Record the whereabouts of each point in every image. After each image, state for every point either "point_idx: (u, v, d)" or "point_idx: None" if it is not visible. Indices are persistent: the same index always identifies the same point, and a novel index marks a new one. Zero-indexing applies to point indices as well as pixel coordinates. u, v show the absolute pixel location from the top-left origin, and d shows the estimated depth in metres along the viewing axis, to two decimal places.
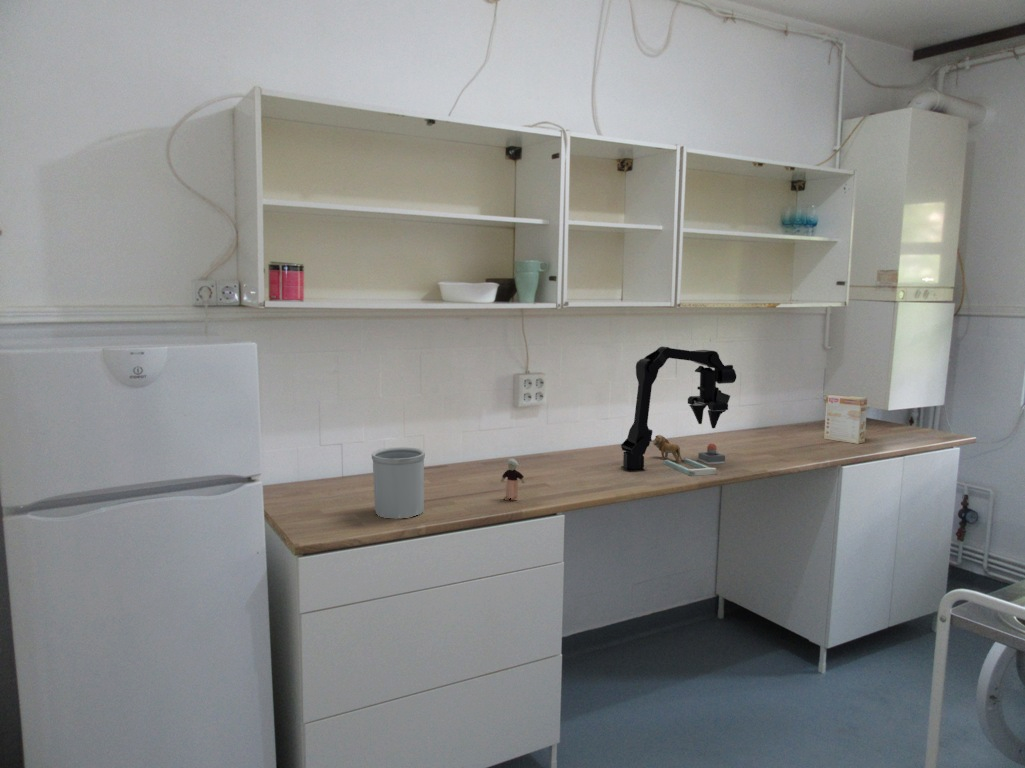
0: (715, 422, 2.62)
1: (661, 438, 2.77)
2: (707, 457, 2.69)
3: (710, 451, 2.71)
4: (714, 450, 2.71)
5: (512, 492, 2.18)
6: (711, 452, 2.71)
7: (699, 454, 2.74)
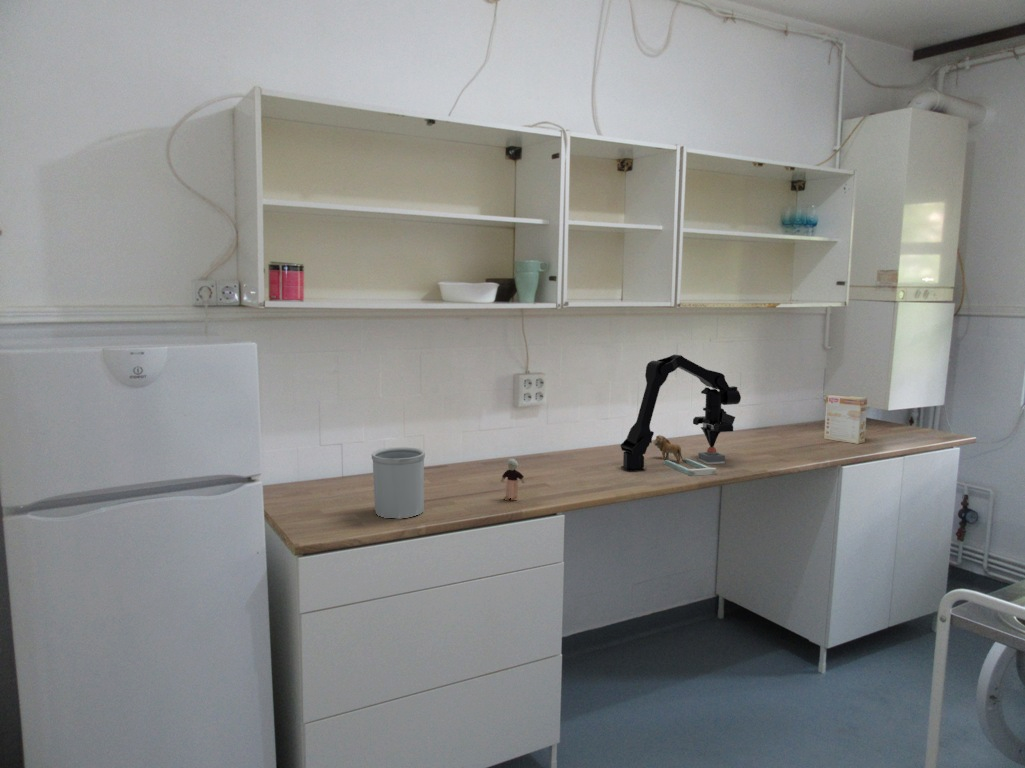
0: (714, 441, 2.71)
1: (662, 438, 2.77)
2: (707, 457, 2.69)
3: (710, 454, 2.71)
4: (714, 453, 2.71)
5: (512, 492, 2.18)
6: None
7: (699, 454, 2.74)
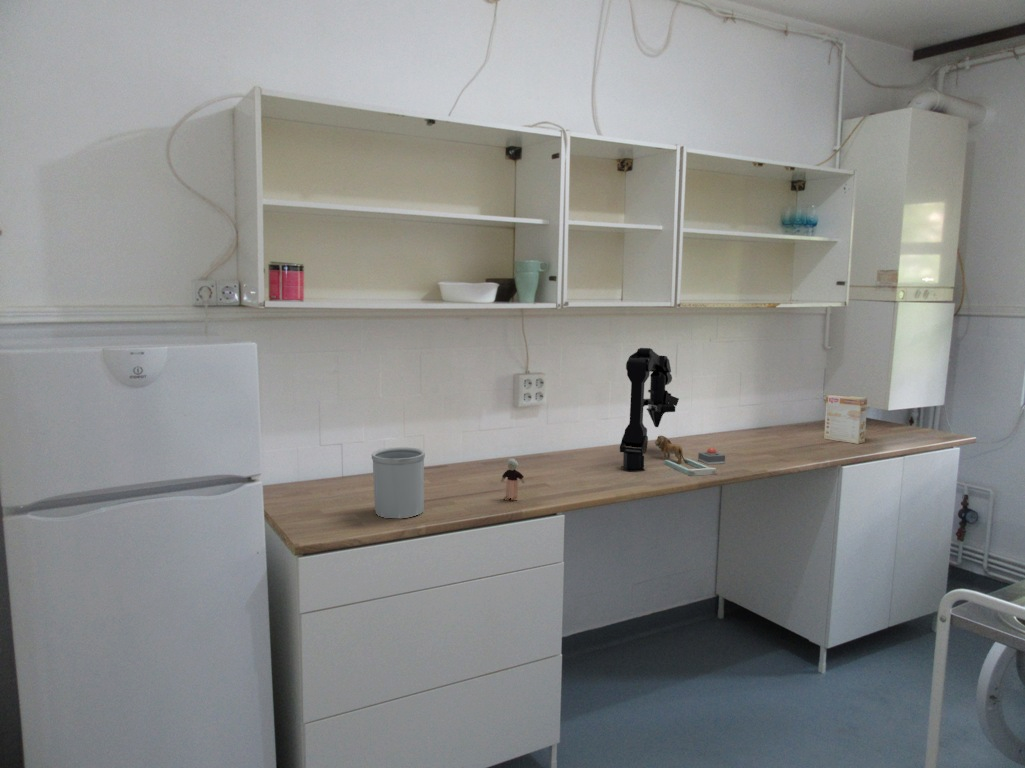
0: (658, 421, 2.83)
1: (663, 439, 2.76)
2: (707, 457, 2.69)
3: None
4: (714, 454, 2.71)
5: (512, 492, 2.18)
6: None
7: (699, 454, 2.74)
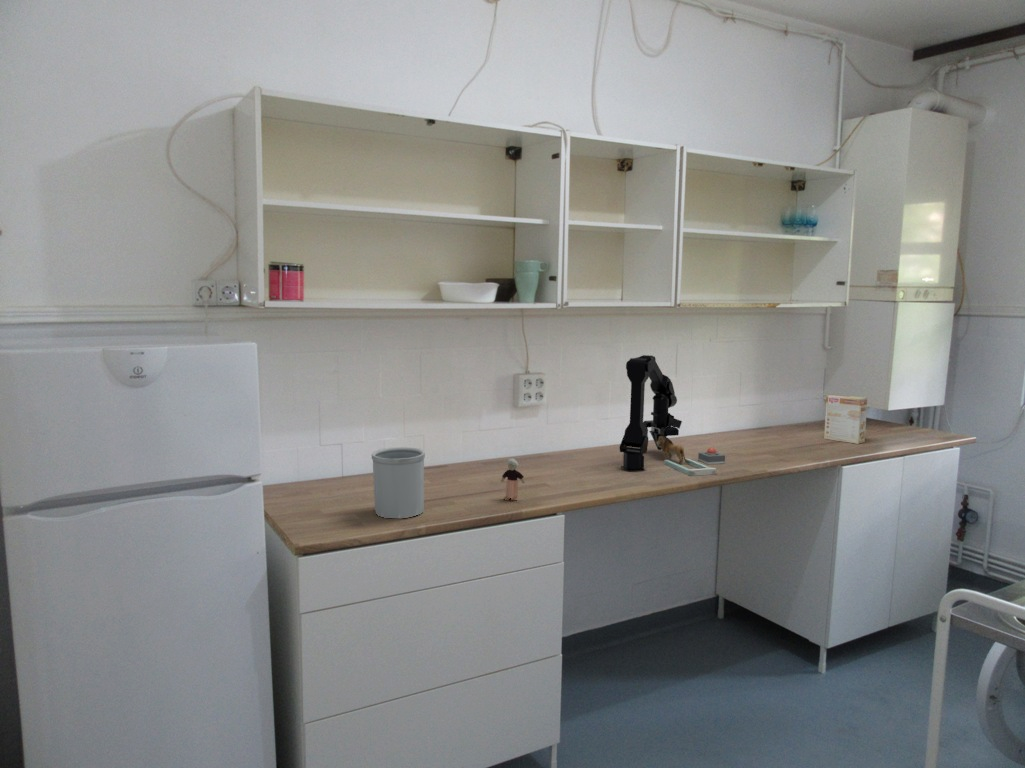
0: None
1: (665, 439, 2.75)
2: (707, 457, 2.69)
3: None
4: (714, 454, 2.71)
5: (512, 492, 2.18)
6: None
7: (699, 454, 2.74)
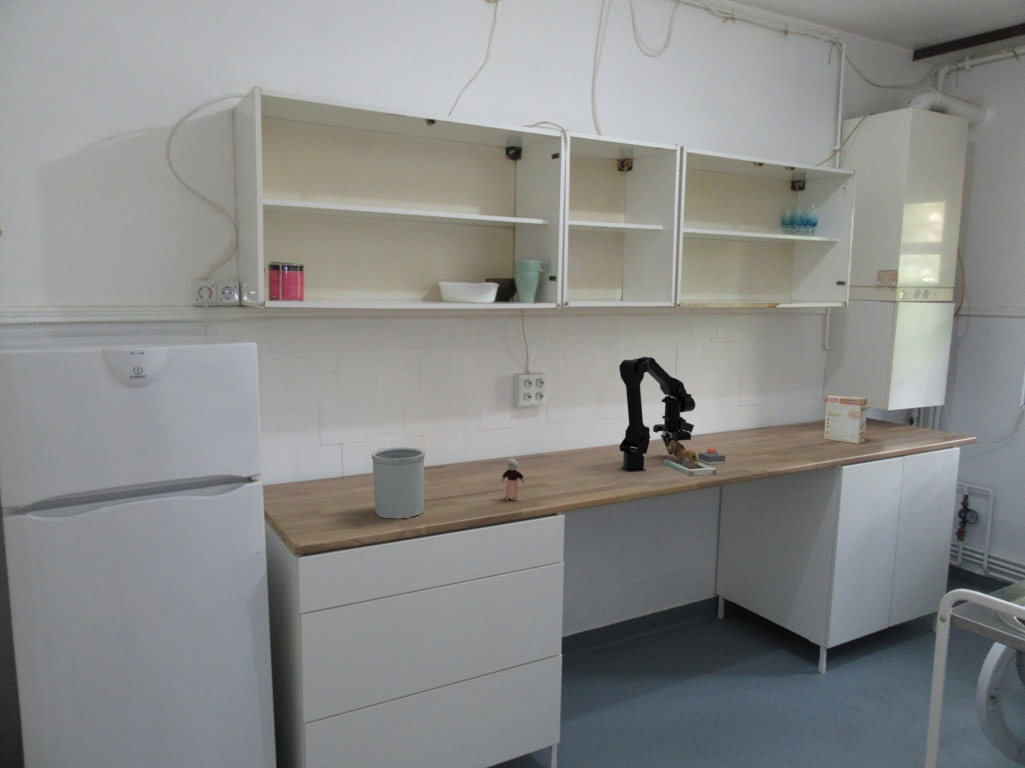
0: None
1: (676, 443, 2.66)
2: (707, 457, 2.69)
3: None
4: (714, 454, 2.71)
5: (512, 492, 2.18)
6: None
7: (699, 454, 2.74)
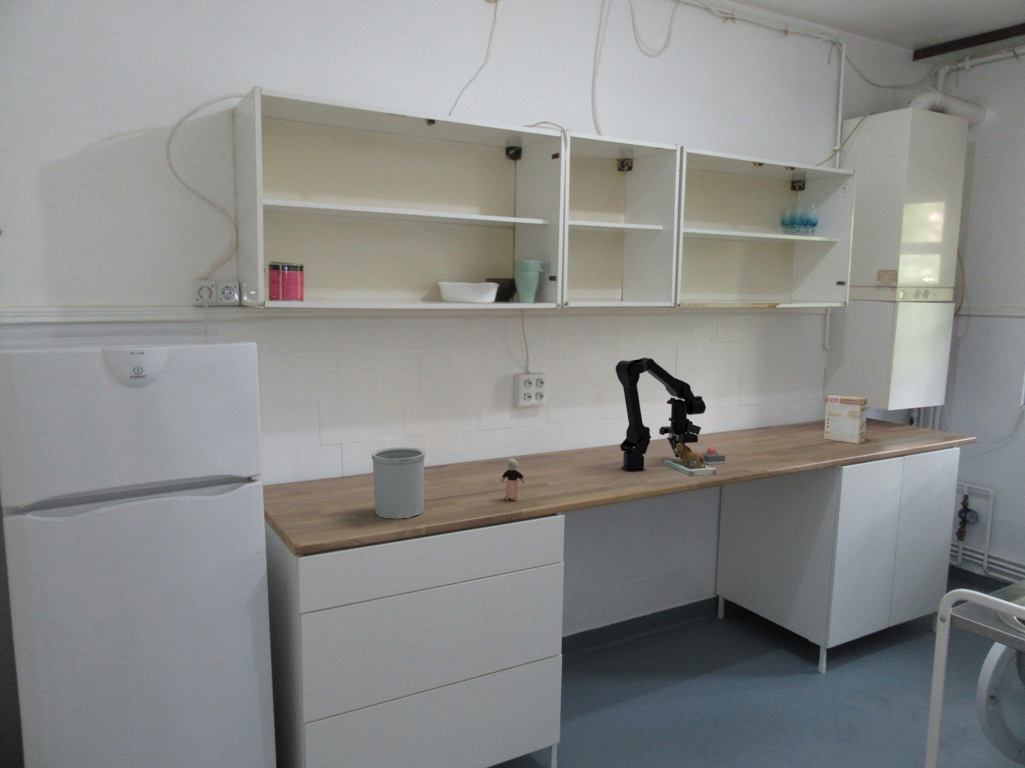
0: None
1: (683, 446, 2.62)
2: (707, 457, 2.69)
3: None
4: (714, 454, 2.71)
5: (512, 492, 2.18)
6: None
7: None
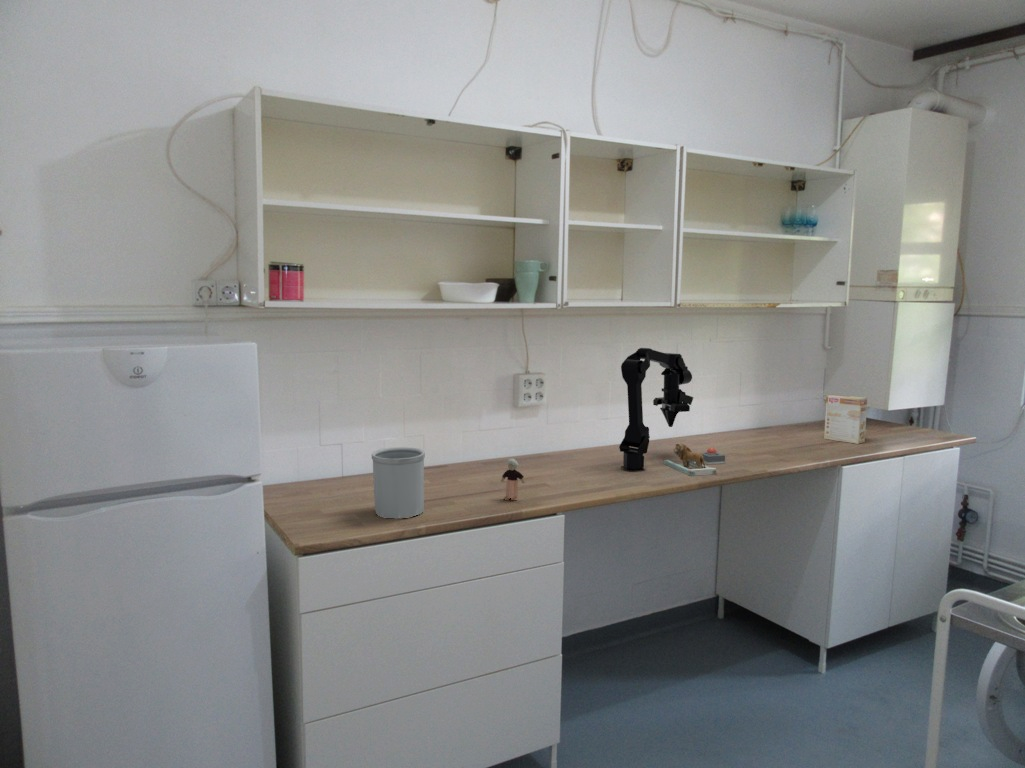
0: (672, 421, 2.75)
1: (682, 446, 2.62)
2: (707, 457, 2.69)
3: None
4: (714, 454, 2.71)
5: (512, 492, 2.18)
6: None
7: None
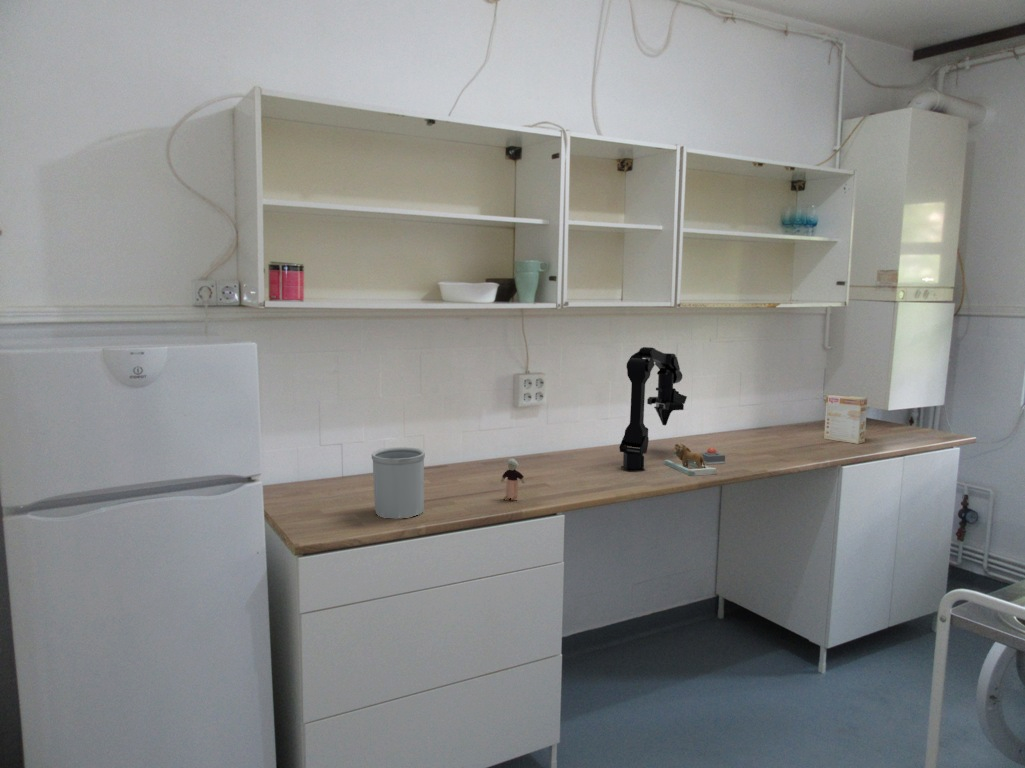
0: (666, 419, 2.81)
1: (682, 446, 2.61)
2: (707, 457, 2.69)
3: None
4: (714, 454, 2.71)
5: (512, 492, 2.18)
6: None
7: None
